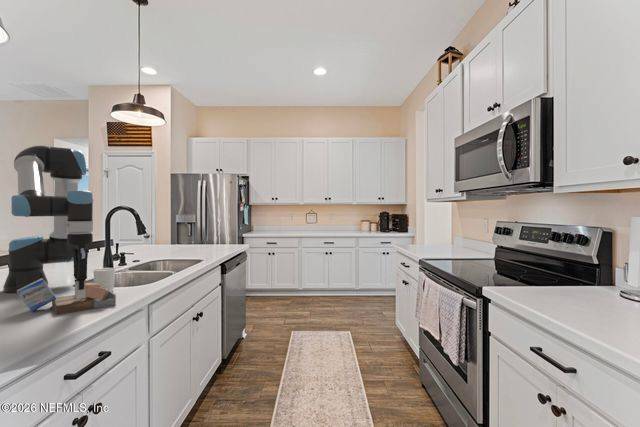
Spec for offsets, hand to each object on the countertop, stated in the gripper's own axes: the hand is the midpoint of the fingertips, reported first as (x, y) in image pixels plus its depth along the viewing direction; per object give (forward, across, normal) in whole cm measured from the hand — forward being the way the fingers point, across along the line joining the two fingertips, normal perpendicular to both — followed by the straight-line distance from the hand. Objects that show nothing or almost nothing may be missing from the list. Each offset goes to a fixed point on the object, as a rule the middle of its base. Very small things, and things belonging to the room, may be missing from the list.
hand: (80, 297), depth 121 cm
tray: (+4, -4, +7) cm, 9 cm away
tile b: (+1, 0, +4) cm, 5 cm away
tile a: (+1, -9, +3) cm, 9 cm away
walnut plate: (+4, -4, -2) cm, 6 cm away
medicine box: (+2, -8, -9) cm, 13 cm away
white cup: (+4, -22, +12) cm, 25 cm away
